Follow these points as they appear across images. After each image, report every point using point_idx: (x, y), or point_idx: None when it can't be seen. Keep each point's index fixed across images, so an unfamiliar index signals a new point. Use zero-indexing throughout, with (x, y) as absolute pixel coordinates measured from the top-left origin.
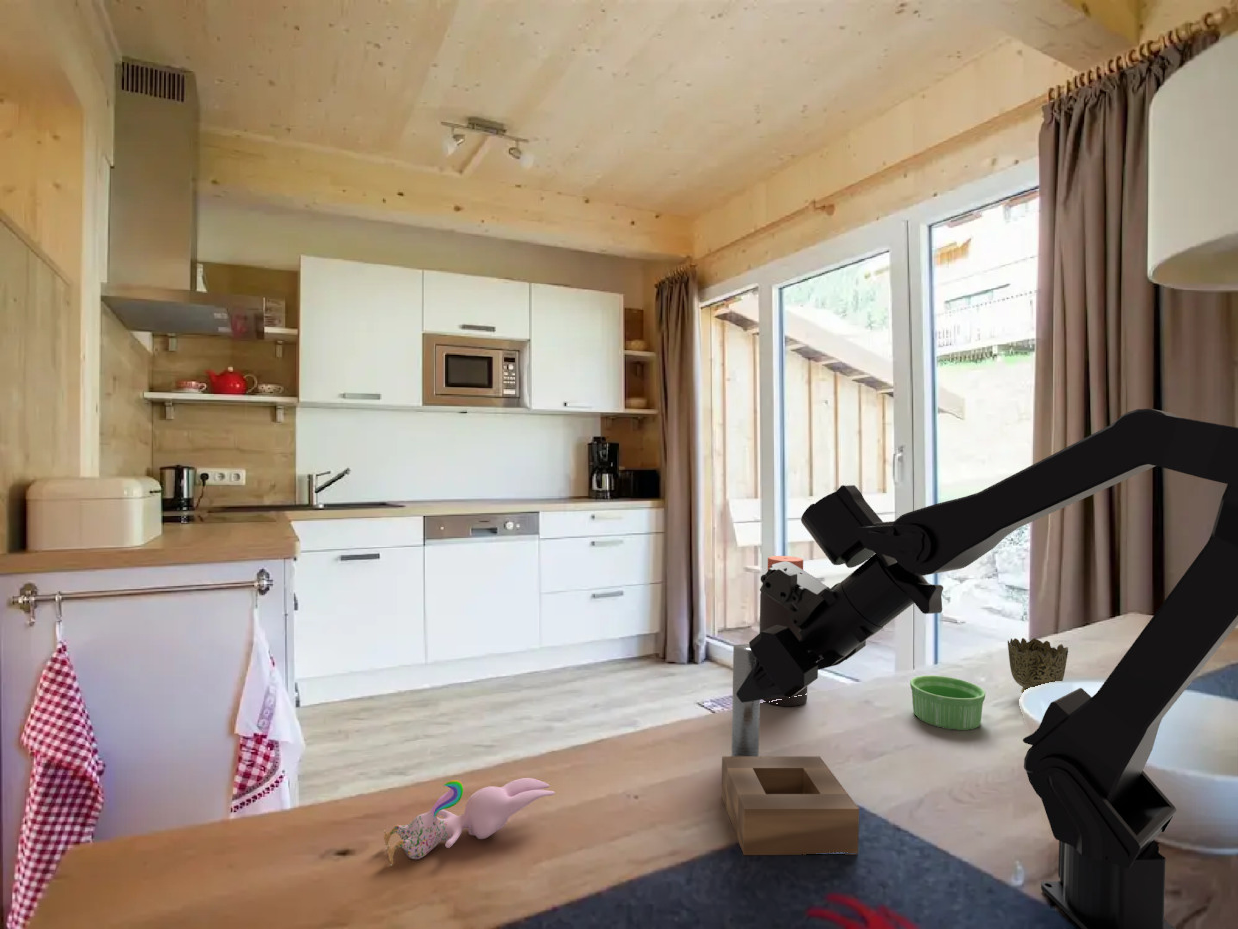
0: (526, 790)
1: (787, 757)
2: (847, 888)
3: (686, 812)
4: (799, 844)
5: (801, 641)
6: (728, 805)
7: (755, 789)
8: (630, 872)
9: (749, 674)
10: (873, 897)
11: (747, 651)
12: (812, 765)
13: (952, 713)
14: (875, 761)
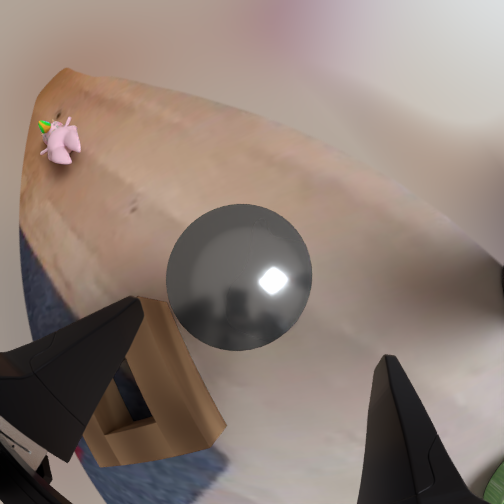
0: (67, 146)
1: (179, 400)
2: None
3: (120, 273)
4: None
5: (412, 498)
6: None
7: None
8: (46, 262)
9: (52, 334)
10: (85, 447)
11: (171, 293)
12: (171, 436)
13: (491, 500)
14: None
